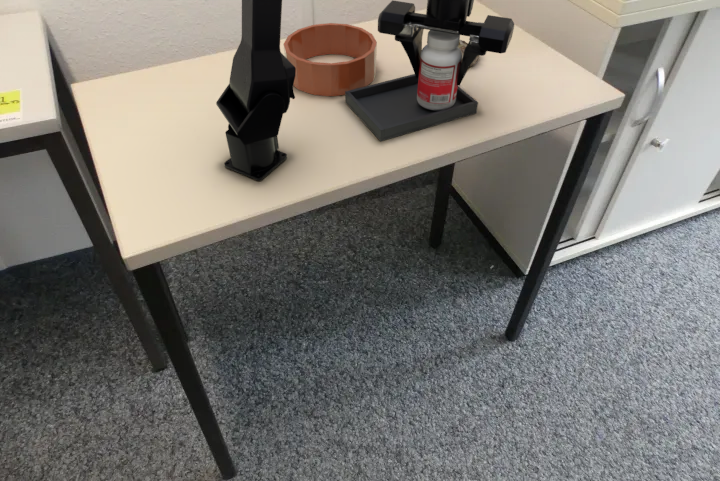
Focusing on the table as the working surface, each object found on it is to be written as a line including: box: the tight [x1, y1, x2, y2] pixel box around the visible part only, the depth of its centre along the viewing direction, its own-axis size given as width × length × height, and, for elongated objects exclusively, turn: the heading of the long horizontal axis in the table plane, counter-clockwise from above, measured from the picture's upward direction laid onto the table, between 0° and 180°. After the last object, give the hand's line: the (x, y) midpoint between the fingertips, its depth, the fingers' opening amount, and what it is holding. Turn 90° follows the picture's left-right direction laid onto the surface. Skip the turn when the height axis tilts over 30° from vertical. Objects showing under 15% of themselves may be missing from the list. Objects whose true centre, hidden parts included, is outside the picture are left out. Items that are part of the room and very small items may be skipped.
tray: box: [344, 73, 479, 142], centre depth 84 cm, size 17×12×2 cm
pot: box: [283, 22, 378, 97], centre depth 90 cm, size 15×15×6 cm
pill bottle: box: [417, 30, 462, 111], centre depth 80 cm, size 6×6×11 cm
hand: (438, 80), depth 81 cm, fingers closed on pill bottle, 6 cm apart
